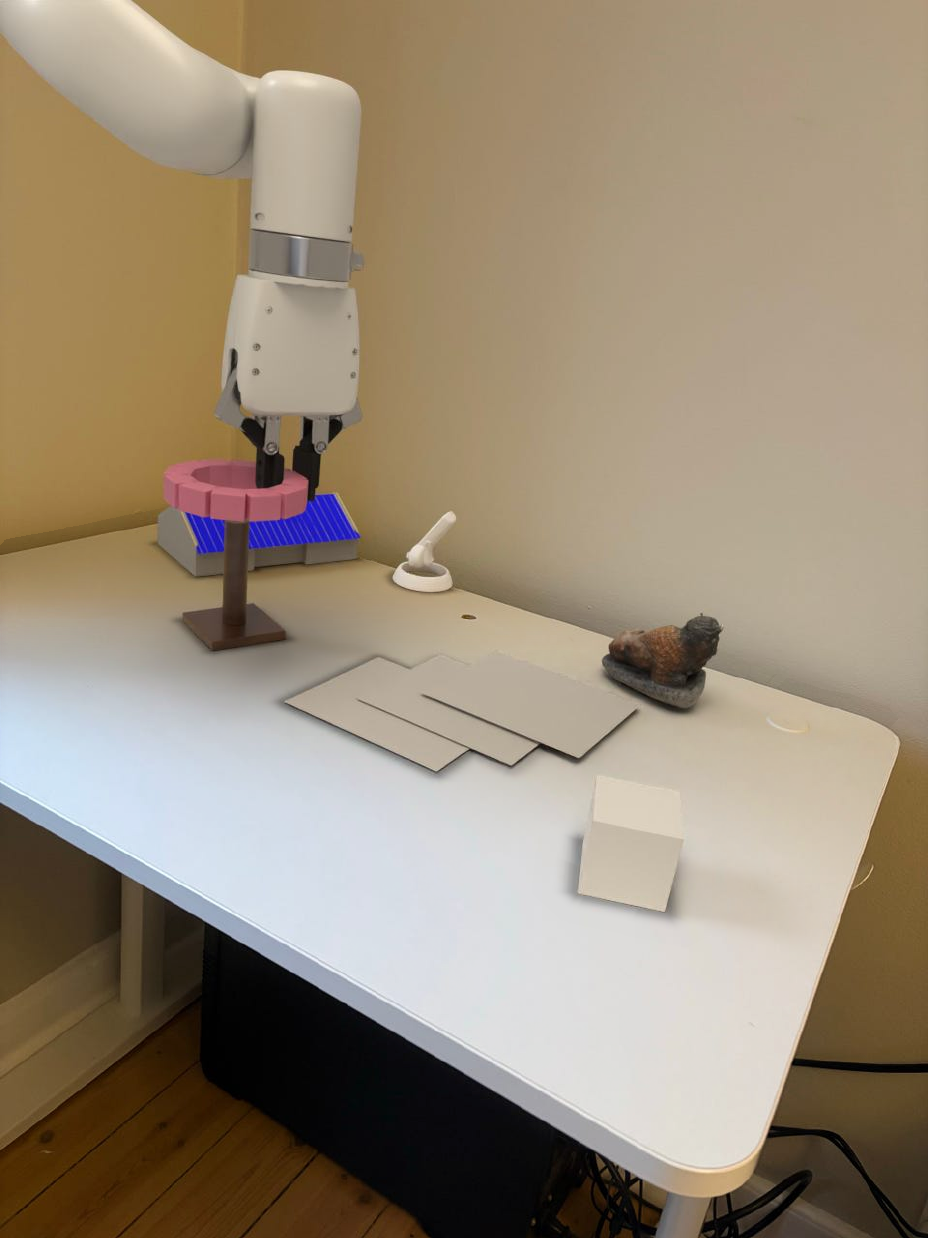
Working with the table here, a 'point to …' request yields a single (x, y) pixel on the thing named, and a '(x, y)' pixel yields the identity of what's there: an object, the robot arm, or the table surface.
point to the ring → (232, 491)
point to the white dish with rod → (426, 561)
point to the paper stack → (466, 708)
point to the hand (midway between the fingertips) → (286, 496)
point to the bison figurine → (665, 659)
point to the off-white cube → (631, 843)
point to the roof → (263, 537)
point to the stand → (234, 601)
